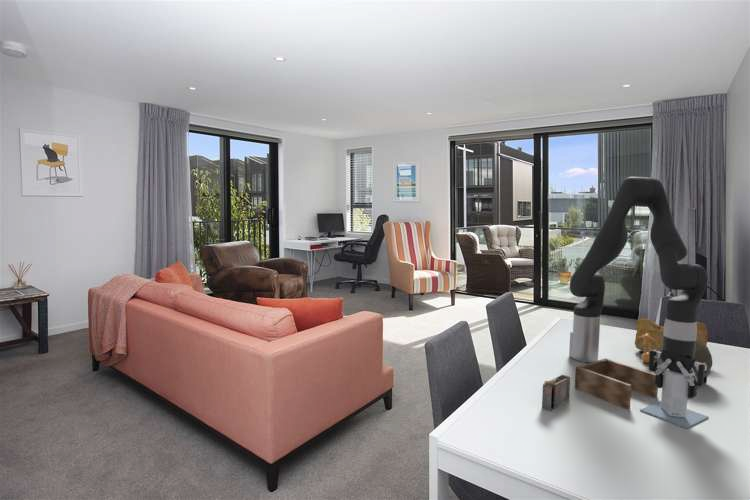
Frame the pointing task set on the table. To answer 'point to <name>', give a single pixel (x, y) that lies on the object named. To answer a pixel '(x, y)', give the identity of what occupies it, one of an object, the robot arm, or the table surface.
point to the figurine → (646, 338)
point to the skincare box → (674, 393)
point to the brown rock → (700, 356)
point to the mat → (685, 422)
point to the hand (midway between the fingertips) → (675, 392)
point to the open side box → (614, 381)
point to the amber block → (661, 334)
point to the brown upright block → (556, 392)
